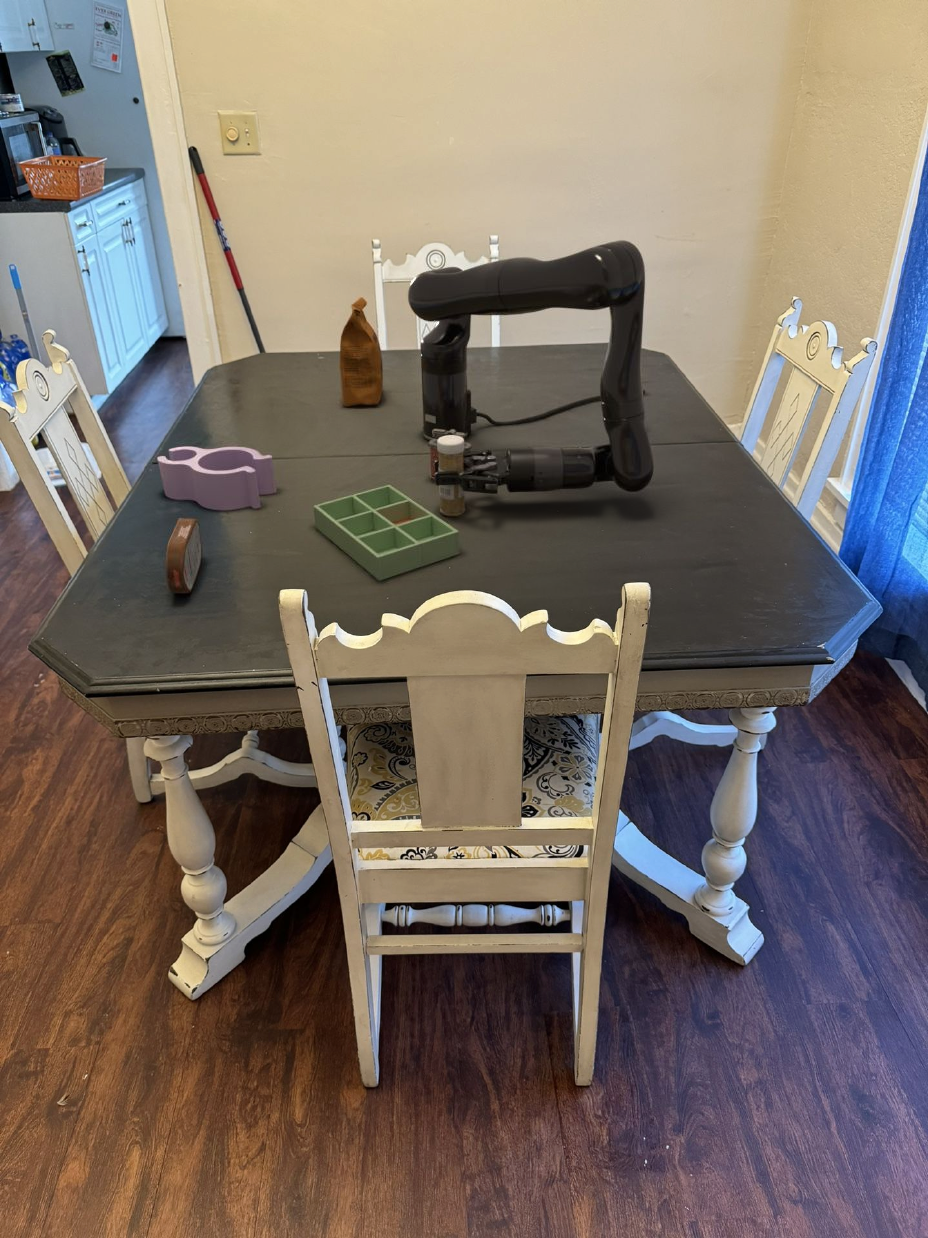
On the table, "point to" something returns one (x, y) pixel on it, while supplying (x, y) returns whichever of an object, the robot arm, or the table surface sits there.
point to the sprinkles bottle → (451, 461)
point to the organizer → (386, 531)
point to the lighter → (434, 452)
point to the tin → (183, 556)
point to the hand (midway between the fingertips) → (435, 472)
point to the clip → (217, 476)
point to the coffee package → (360, 360)
